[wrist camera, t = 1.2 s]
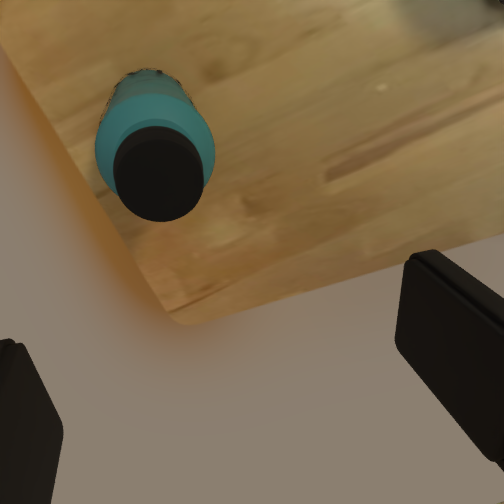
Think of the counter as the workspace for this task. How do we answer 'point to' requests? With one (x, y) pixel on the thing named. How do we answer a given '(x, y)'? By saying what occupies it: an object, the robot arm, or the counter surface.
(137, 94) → the beverage bottle
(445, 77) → the counter surface
